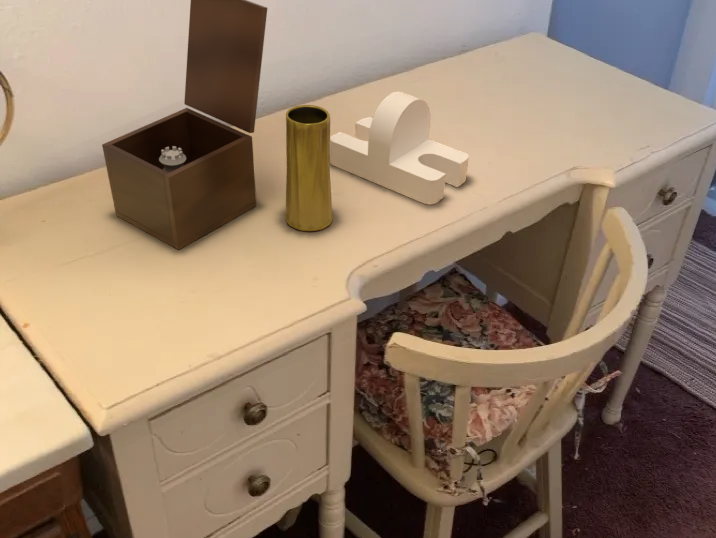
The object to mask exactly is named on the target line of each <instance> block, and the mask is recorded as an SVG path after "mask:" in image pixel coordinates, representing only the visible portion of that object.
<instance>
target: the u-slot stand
mask: <svg viewBox="0 0 716 538" xmlns="http://www.w3.org/2000/svg"><path fill="white" fill-rule="evenodd" d="M354 124H355V125H354V136H352V135H349V134H347V133H344V132H342V131H338V132H336V133H334V134H333V135H330V165H332V166H334V167H336V168H339V169H340V170H343V171H345V172H348V173H351V174H353V175H355V176H357V177H359V178H362V179H364V180H367V181H369V182H372V183H374V184H376V185H378V186H381V187H384V188H386V189H389V190H391V191H393V192H396V193H398V194H400V195H403V196H405V197H407V198H410V199H412V200H415V201H417V202H420V203H422V204H424V205H430V206H431V205H435V204H437V203H439V202H440V201H441V200H442V199H444V195H445V185H446V184H447V185H449V186H450V185H451V186H452V187H455V188H459V187H460V186H461V185H463V184H464V183H465V182H466V180H467V176H468V166H469V161H470V160H469V159H470V155H469V154H468V153H466V152H464V151H461V150H459V149H456V148H454V147H451V146H449V145H445V144H443V143H440V142H437V141H436V140H433V139H430V132H431V110H430V106H429V105H428V103H427V102H426V101H425V100H424V99H422V98H419V97H417V96H414V95H411V94H409V93H406V92H402V91H398V90H397V91H393V92H391V93H389V94H388V95H387V96H386V97H384V98H383V100H382V101H381V102H380V103H379V105H378V107H377V109H376V110H375V112H374V115H373V117H371V116H369V117H368V116H367V117H363V118H361V119H360V120H358V121H356V122H355V123H354Z"/></svg>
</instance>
